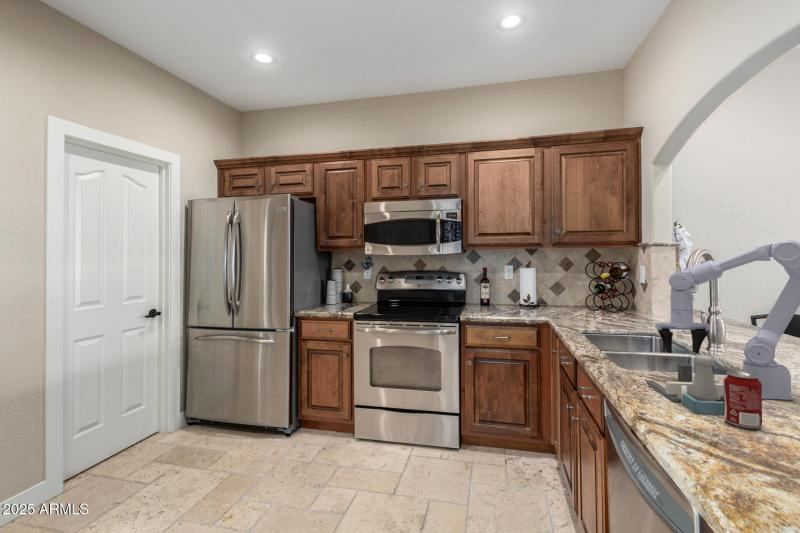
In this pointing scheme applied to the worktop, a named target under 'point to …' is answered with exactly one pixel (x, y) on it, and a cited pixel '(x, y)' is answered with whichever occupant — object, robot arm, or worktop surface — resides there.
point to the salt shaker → (704, 379)
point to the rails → (669, 396)
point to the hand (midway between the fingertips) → (682, 352)
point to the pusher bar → (686, 382)
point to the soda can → (742, 399)
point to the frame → (701, 404)
